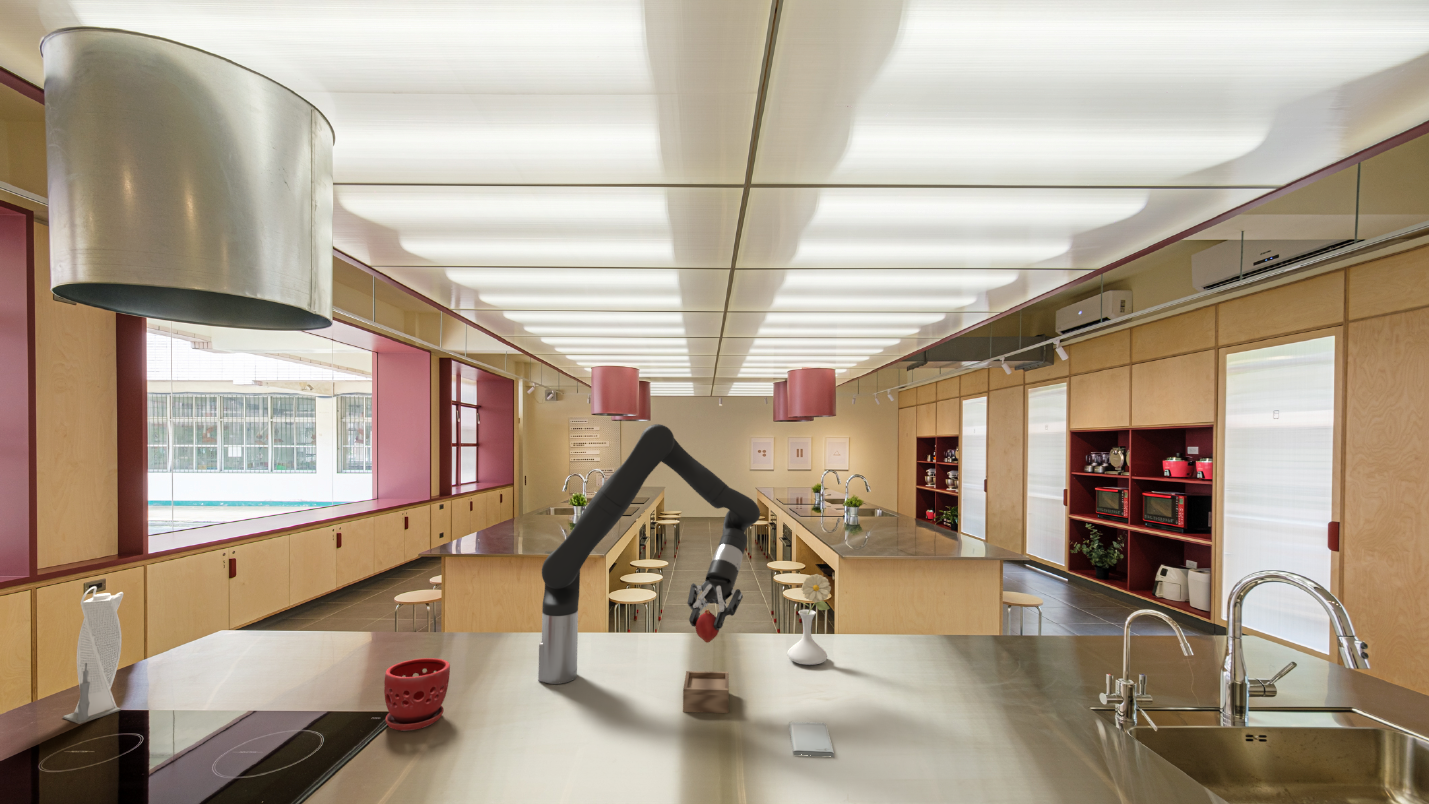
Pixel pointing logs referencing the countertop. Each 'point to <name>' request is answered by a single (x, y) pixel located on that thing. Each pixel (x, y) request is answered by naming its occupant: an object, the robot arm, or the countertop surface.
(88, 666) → the skyscraper
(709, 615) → the onion
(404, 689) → the plant pot
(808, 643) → the flower in vase
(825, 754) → the hard drive
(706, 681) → the wooden tray
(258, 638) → the countertop surface
